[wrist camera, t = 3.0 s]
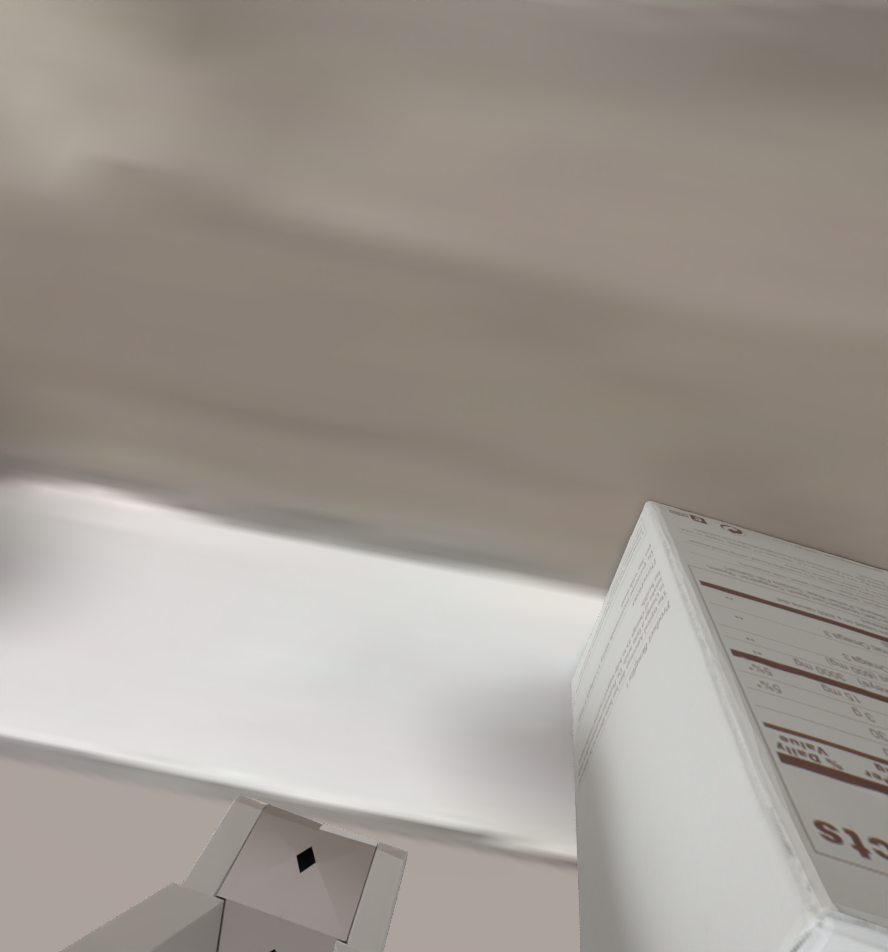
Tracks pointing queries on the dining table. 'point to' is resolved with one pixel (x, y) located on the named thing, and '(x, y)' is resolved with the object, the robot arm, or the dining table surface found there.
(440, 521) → the dining table surface
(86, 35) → the dining table surface
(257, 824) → the robot arm
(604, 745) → the supplement box
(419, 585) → the dining table surface
